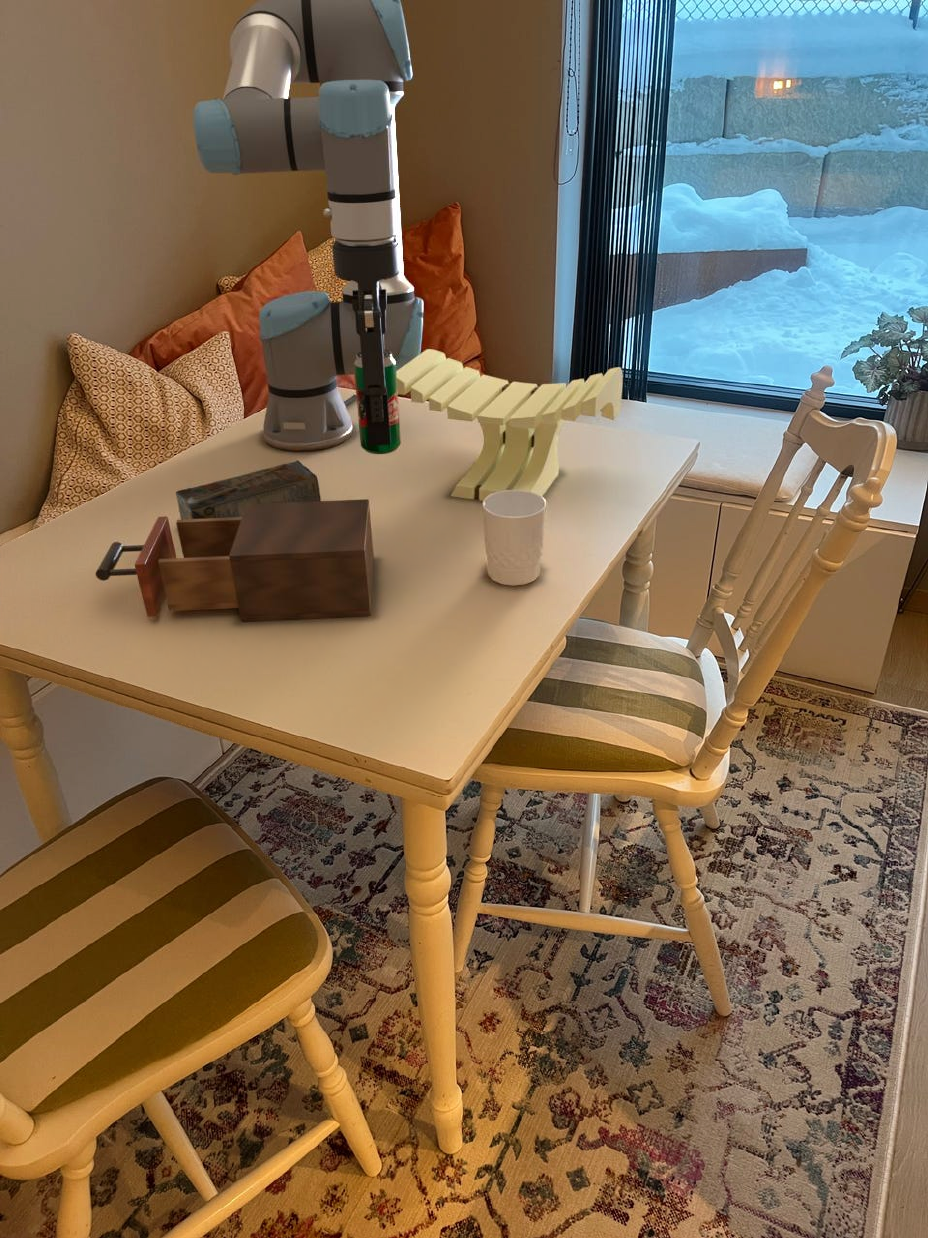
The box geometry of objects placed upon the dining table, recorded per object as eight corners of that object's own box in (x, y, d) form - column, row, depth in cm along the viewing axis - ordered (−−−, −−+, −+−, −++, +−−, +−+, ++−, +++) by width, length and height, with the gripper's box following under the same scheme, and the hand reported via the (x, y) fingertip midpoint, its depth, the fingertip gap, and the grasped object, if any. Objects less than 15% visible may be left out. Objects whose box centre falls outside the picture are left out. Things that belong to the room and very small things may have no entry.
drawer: (98, 619, 112) (83, 566, 108) (124, 568, 122) (112, 518, 118) (268, 611, 112) (259, 558, 108) (280, 561, 123) (272, 511, 119)
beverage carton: (180, 527, 134) (171, 485, 130) (305, 496, 142) (300, 455, 138) (197, 549, 128) (188, 506, 124) (326, 515, 136) (321, 473, 132)
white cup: (474, 565, 123) (472, 496, 117) (528, 553, 125) (529, 484, 120) (498, 593, 116) (497, 522, 111) (554, 580, 119) (557, 509, 113)
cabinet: (240, 622, 112) (228, 555, 107) (256, 566, 124) (246, 504, 119) (370, 616, 113) (364, 549, 108) (374, 561, 124) (368, 498, 119)
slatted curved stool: (616, 473, 146) (624, 360, 136) (589, 516, 134) (596, 396, 124) (439, 449, 156) (435, 343, 146) (399, 488, 143) (391, 374, 134)
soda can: (395, 456, 116) (389, 361, 109) (356, 454, 116) (347, 359, 110) (405, 441, 120) (399, 348, 113) (367, 439, 121) (359, 346, 114)
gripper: (335, 225, 112) (352, 411, 125) (326, 257, 97) (347, 465, 109) (397, 222, 112) (408, 408, 125) (399, 254, 97) (411, 462, 110)
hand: (379, 434), depth 117 cm, fingers closed on soda can, 5 cm apart
